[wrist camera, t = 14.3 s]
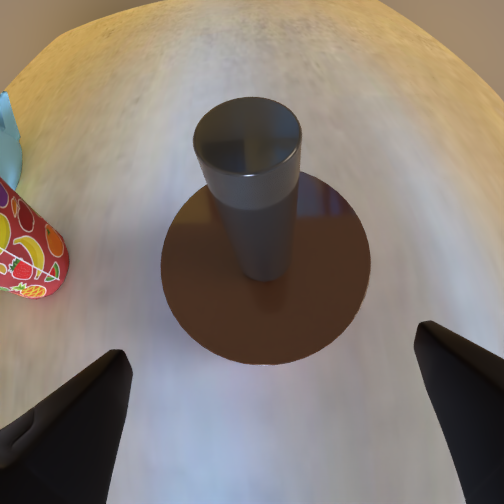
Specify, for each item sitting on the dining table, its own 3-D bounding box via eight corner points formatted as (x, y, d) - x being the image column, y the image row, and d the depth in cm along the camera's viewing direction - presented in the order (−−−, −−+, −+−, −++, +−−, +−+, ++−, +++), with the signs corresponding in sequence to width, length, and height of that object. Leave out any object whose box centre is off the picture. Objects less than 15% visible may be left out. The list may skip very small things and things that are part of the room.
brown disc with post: (278, 409, 15) (275, 470, 5) (131, 274, 19) (15, 182, 9) (400, 247, 18) (489, 130, 8) (254, 149, 21) (234, 10, 11)
